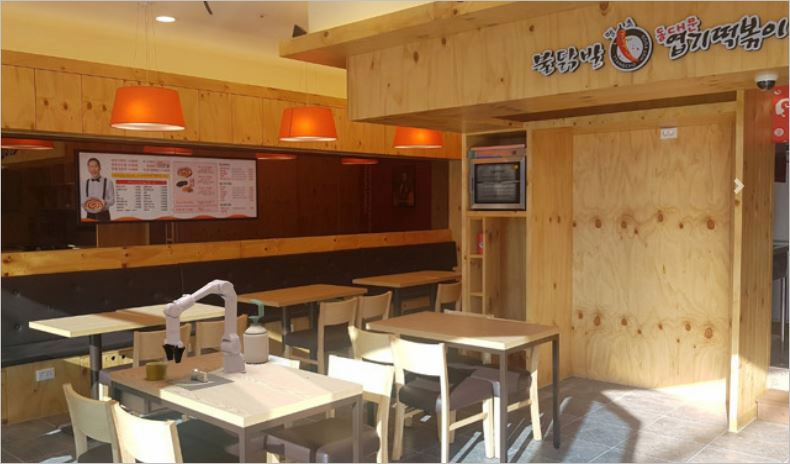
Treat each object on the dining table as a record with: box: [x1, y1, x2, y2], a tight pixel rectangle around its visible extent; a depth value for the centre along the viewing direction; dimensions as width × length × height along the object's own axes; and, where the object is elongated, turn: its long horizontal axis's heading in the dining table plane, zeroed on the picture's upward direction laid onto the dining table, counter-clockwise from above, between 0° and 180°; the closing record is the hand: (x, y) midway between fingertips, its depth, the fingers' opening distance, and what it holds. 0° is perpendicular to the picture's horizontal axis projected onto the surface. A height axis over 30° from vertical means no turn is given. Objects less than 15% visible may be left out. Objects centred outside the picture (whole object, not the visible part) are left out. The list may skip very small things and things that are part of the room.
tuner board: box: [168, 373, 236, 392], centre depth 308 cm, size 21×22×1 cm
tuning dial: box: [190, 367, 209, 382], centre depth 310 cm, size 13×4×4 cm, turn 45°
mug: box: [145, 361, 169, 382], centre depth 318 cm, size 12×10×10 cm
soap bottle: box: [242, 298, 270, 365], centre depth 350 cm, size 12×12×31 cm
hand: (174, 361), depth 308 cm, fingers open, 7 cm apart
